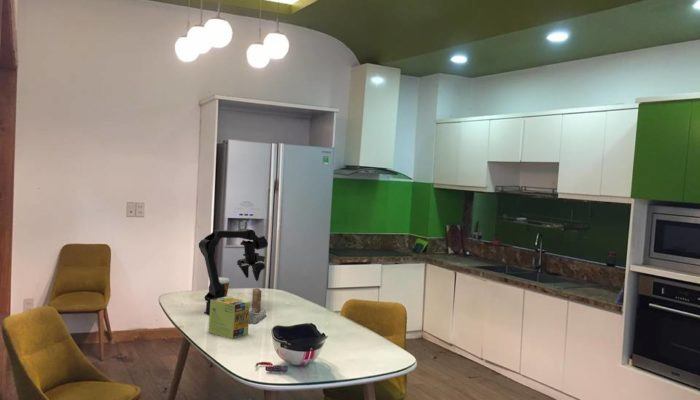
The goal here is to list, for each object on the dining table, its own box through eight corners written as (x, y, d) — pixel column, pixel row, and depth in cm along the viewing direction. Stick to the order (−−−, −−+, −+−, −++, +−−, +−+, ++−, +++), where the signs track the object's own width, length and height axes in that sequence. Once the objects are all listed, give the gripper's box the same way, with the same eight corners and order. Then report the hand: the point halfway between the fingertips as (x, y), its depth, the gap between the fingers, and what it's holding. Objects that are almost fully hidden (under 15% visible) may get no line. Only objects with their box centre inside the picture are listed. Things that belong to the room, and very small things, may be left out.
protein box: (233, 339, 260) (235, 304, 259) (208, 332, 268) (209, 299, 267) (248, 334, 269) (250, 301, 268) (224, 328, 277) (225, 295, 276)
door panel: (254, 313, 309) (256, 290, 309) (251, 310, 315) (252, 288, 314) (260, 312, 311) (261, 290, 310) (257, 310, 316) (258, 288, 316)
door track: (241, 322, 288) (241, 315, 288) (252, 314, 306) (252, 307, 306) (255, 324, 287) (256, 317, 287) (266, 316, 305) (266, 309, 305)
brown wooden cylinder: (226, 301, 333) (228, 280, 333) (210, 300, 333) (211, 279, 333) (230, 297, 342) (231, 277, 342) (214, 296, 343) (215, 276, 342)
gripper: (272, 251, 315) (274, 278, 317) (252, 246, 328) (254, 272, 331) (255, 255, 307) (257, 283, 310) (235, 250, 320) (237, 277, 323)
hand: (252, 279), depth 319 cm, fingers open, 9 cm apart
